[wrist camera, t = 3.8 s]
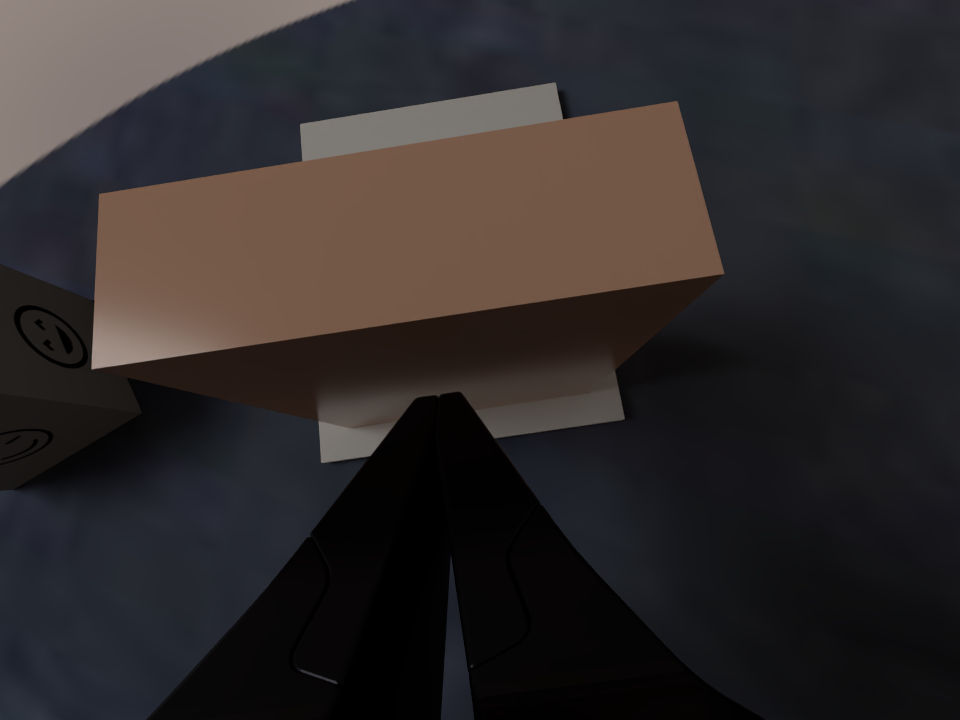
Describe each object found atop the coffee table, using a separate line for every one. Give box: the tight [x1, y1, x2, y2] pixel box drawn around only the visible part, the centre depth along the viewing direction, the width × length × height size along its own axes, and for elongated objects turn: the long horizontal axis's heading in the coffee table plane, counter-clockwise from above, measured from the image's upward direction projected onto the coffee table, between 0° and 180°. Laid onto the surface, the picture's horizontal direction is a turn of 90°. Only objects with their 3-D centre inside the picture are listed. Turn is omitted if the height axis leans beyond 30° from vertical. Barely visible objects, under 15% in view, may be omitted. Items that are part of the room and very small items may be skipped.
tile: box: [91, 101, 724, 428], centre depth 11 cm, size 3×8×10 cm, turn 98°
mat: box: [300, 83, 625, 463], centre depth 17 cm, size 13×10×1 cm
